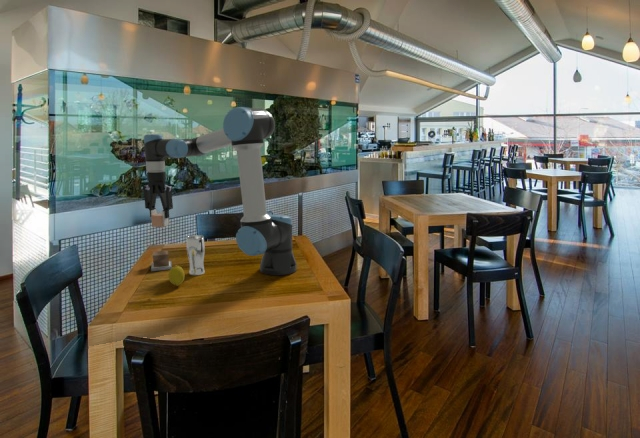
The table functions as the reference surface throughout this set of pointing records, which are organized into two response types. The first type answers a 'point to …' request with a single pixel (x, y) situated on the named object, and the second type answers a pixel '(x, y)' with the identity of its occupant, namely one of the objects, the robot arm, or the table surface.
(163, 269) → the slate picture frame
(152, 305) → the table surface
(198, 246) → the beer glass
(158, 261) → the walnut block
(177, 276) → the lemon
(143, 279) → the table surface
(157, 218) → the terracotta cube
